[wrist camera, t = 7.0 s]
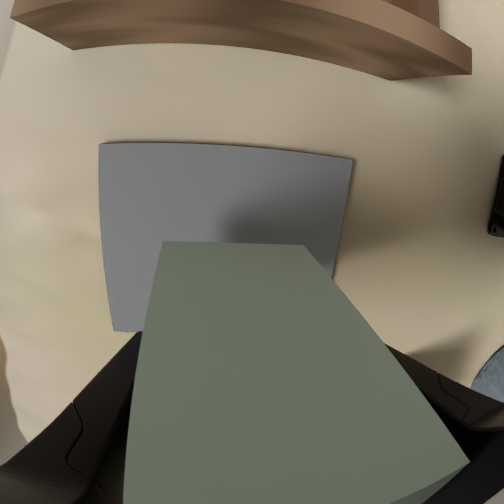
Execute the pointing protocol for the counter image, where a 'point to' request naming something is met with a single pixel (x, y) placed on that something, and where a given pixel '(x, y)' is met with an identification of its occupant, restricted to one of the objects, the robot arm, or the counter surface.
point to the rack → (266, 29)
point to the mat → (209, 208)
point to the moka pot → (491, 378)
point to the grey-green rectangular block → (272, 390)
